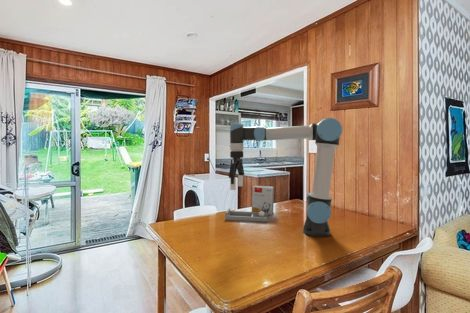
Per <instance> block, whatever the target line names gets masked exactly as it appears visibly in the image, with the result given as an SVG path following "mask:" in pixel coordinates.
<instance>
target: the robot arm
mask: <svg viewBox="0 0 470 313" xmlns="http://www.w3.org/2000/svg"><path fill="white" fill-rule="evenodd" d="M342 133H343V127H342V124H341V122H340V121H339V120H337V119H336V118H334V117H325V118H323V119H322V120H320V121H319V122H316V123H315V122H313V123H311V124H309V125H308V124H307V125H296V126H291V125H290V126H277V127H276V126H275V127H264V126H244V124H243V123H240V122H238V123H235V122H234V123H231V124H230V128H229V138H230V139H229V144H230V145H229V149H230V151H229V155H230V165H229V166H230V167H229V172H228V178H229V179H230V191H236V187H237V186H238V187H244V178H243V177H244V176H245V170H244V163H243V158H244V141H256V142H261V141H276V140H277V141H279V140H280V141H282V140H285V141H286V140H303V139H304V140H307V139H310V140H311V141H315V142H314V144H315V145H316V146H317V149H316V150H317V151H316V158H315V166H314V172H313V173H314V175H313V183H312V189H311V192H308V193H306V197H305V198H306V211H305V212H306V219H305V221H304V225H303V228H302V232H303V233H304V234H306V235H307V236H311V237H317V238H323V237H328V236H329V237H330V236H331V227H330V224H329V219H330V218H331V215H332V210H331V207H332V196H331V195H330V191H331V184H332V177H333V176H332V175H333V169H334V168H333V167H334V161H335V160H334V159H335V152H336V149H337V148H338V147H339V144H340V141H341V139H340V138H341V136H342ZM237 173H238V175H237V182H236V174H237ZM236 183H237V184H238V185H237V186H236Z"/></svg>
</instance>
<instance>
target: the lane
mask: <svg viewBox="0 0 470 313" xmlns="http://www.w3.org/2000/svg"><path fill="white" fill-rule="evenodd" d="M224 217H225V218H224V220H225V221H231V222H232V221H233V222H248V223H249V222H250V223H251V222H252V223H268V217H269V216H268V213H267V212H264V216H263V217H260V216H259V212H252V211H240V210H238V211H237V210H231V208H230V207H229V208H228V209H226V211H225V216H224Z"/></svg>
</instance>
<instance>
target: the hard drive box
mask: <svg viewBox="0 0 470 313" xmlns="http://www.w3.org/2000/svg"><path fill="white" fill-rule="evenodd" d="M274 196H275V187H274V186H268V185H253V186H252V188H251V212H260V211H263V212H267V213H268V215H270V216H272V215H273V214H274V204H275V203H274V200H275V198H274Z"/></svg>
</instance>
